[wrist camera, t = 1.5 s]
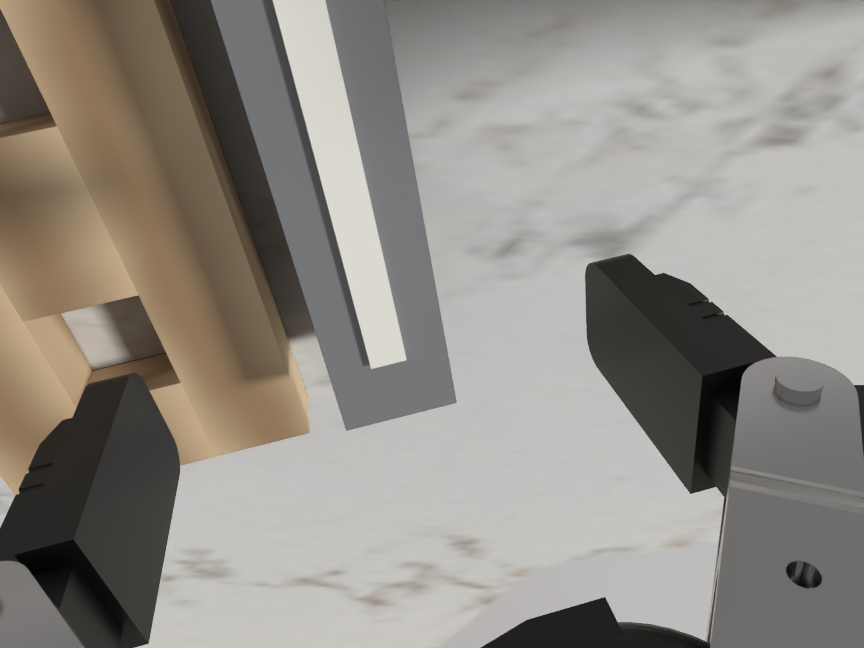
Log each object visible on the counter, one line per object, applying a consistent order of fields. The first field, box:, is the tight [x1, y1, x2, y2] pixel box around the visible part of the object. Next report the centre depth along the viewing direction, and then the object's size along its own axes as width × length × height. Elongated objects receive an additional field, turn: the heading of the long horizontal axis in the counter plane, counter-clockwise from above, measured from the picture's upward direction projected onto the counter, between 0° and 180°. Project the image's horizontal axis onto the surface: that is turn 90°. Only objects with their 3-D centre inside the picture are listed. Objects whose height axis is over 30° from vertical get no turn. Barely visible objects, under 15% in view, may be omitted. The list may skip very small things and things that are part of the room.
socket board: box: [0, 0, 309, 495], centre depth 22 cm, size 12×22×2 cm, turn 9°
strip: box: [211, 0, 457, 431], centre depth 21 cm, size 4×16×7 cm, turn 9°
